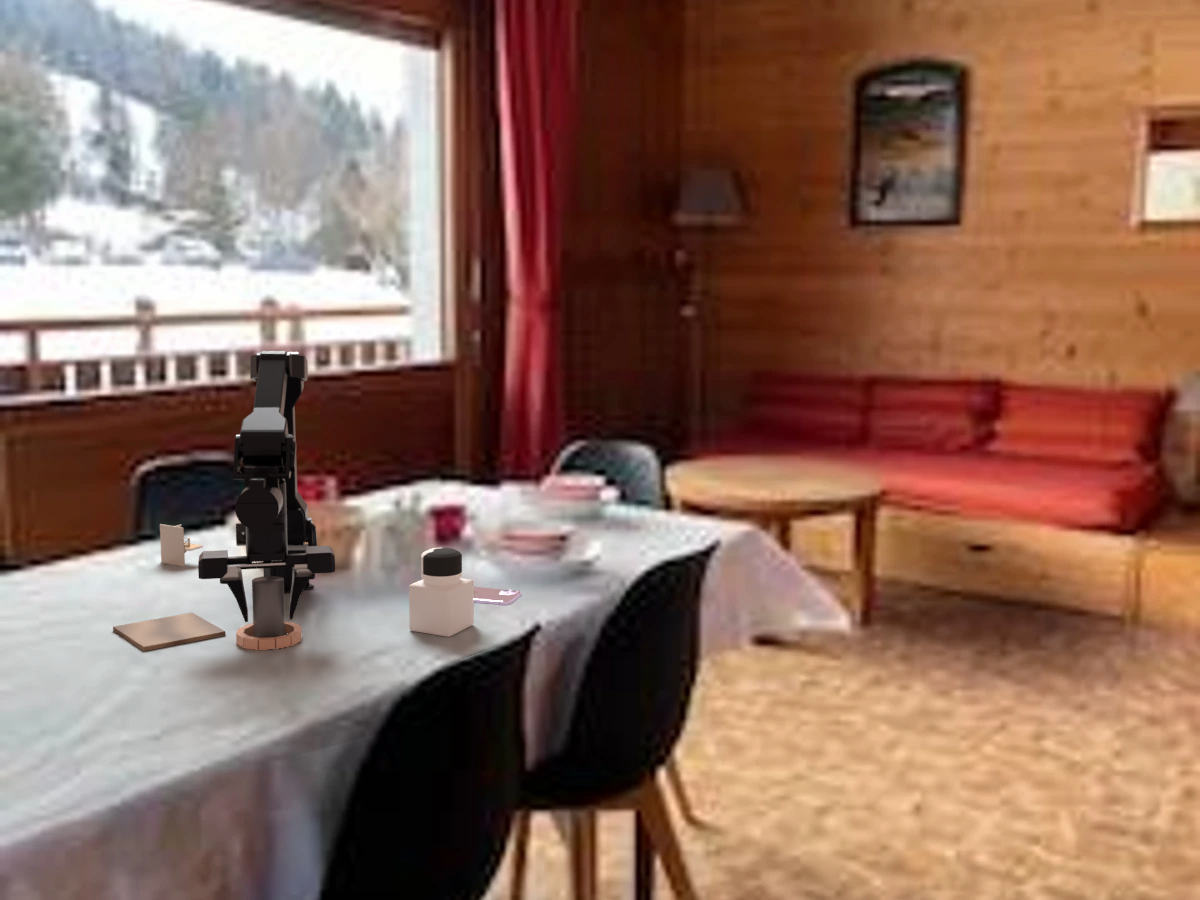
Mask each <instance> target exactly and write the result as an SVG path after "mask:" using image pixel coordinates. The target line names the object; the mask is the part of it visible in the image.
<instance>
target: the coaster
mask: <svg viewBox="0 0 1200 900" xmlns="http://www.w3.org/2000/svg"><path fill="white" fill-rule="evenodd" d="M112 631H113V632H115V634H118V635H119V636H120V637H122V638H124V639H125V640H127V641H128V642H130V643H131V644H133V645H134V646H135V647H137V648H139V649H140V650H141V651H143V652H145V651H150V650H156V649H157V650H158V649H162V648H166V647H172V646H177V645H182V644H183V645H184V644H188V643H193V642H197V641H204V640H208V639H213V638H218V637H223V636H226V631H225V630H224V629H222V628H221V627H219V626H217V625H215V624H213V623H212V622H210V621H208V620H206V619H204V618H203V617H201V616H199V615H197V614H196V613H194V612H187V613H181V614H175V615H171V616H165V617H160V618H155V619H153V618H152V619H148V620H147V619H146V620H144V621H143V620H142V621H137V622H131V623H126V624H119V625H114V626H113V627H112Z"/></svg>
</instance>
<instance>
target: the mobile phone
mask: <svg viewBox="0 0 1200 900" xmlns="http://www.w3.org/2000/svg"><path fill="white" fill-rule="evenodd" d="M521 596H522V592H521V591H520V590H516V589H505V588H504V589H502V588H493V587H482V586H481V587H480V586H474V603H478V604H489V605H499V606H500V605H501V606H505V605H506V606H507V605H511V604H512V603H514V602H515V601H517V599H518V598H520V597H521Z"/></svg>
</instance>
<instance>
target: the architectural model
mask: <svg viewBox="0 0 1200 900" xmlns="http://www.w3.org/2000/svg"><path fill="white" fill-rule="evenodd" d="M186 531H187V529H184V527H182V524H177V525H168V524H162V523H160V524H159V536H160V558H161V559H160V560H161V563H162V564H168V565H174V566H180V567H185V566H186V563H185V562H186V559H185V555H186V553H187V552H192V551H195V550H200V549H203V548H204V545H201V544H195V543H191V542H190V541H191V538H189V537H184V535H185V534H184V533H185V532H186Z"/></svg>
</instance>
